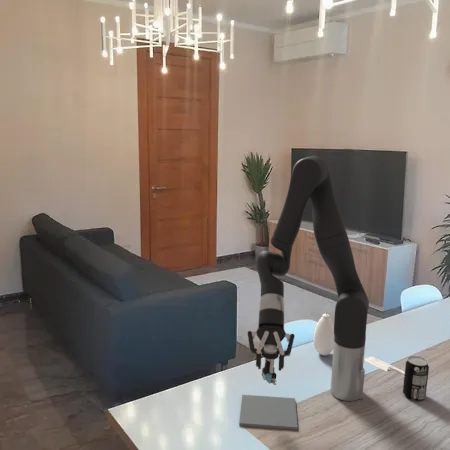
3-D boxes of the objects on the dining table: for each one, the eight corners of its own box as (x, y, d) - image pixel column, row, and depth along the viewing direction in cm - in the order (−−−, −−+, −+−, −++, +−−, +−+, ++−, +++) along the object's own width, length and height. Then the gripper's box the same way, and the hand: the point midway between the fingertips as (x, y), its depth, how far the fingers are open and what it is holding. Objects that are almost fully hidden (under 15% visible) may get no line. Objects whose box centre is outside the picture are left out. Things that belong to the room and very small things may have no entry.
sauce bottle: (308, 354, 170) (311, 308, 166) (319, 347, 175) (322, 302, 172) (327, 361, 165) (331, 314, 161) (338, 354, 170) (341, 307, 167)
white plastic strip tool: (399, 380, 154) (399, 377, 154) (362, 362, 166) (362, 359, 166) (408, 375, 157) (408, 372, 157) (371, 357, 169) (371, 355, 169)
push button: (283, 384, 131) (286, 352, 129) (266, 388, 129) (269, 355, 127) (271, 373, 137) (274, 341, 135) (255, 376, 135) (258, 344, 133)
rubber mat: (294, 400, 141) (295, 398, 141) (297, 429, 127) (297, 427, 127) (242, 396, 142) (242, 394, 142) (239, 425, 129) (239, 423, 128)
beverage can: (408, 387, 149) (411, 353, 146) (428, 396, 144) (433, 360, 142) (398, 395, 144) (402, 360, 142) (419, 404, 140) (424, 368, 137)
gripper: (247, 305, 137) (244, 363, 127) (296, 308, 135) (296, 367, 126) (247, 315, 143) (244, 371, 134) (294, 318, 142) (294, 374, 133)
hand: (269, 368), depth 130 cm, fingers closed on push button, 5 cm apart
